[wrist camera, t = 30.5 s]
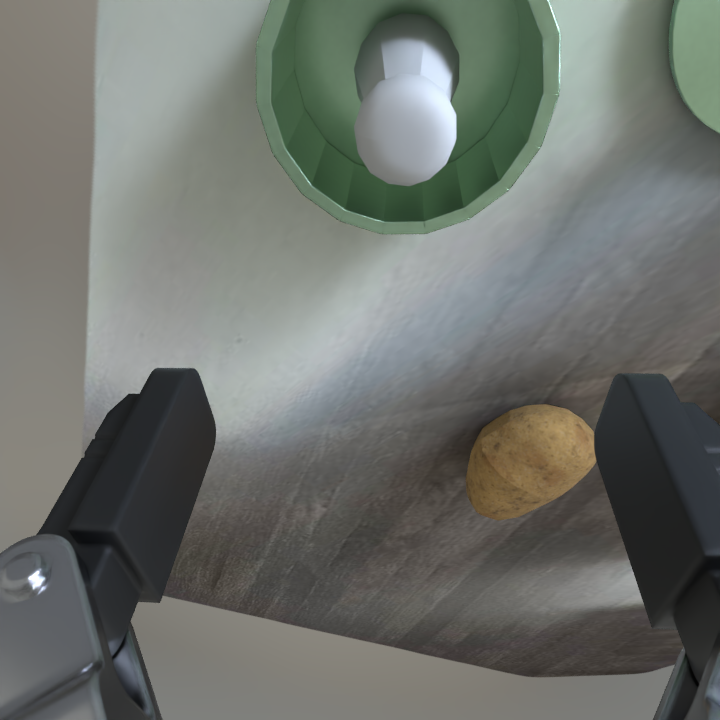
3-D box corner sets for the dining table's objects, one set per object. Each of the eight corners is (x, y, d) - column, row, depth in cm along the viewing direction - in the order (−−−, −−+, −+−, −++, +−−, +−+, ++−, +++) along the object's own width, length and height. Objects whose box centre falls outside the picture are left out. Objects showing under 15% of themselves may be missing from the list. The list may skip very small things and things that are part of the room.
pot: (234, -18, 30) (194, 2, 24) (500, -165, 25) (527, -181, 20) (341, 211, 38) (330, 266, 33) (554, 133, 34) (583, 181, 28)
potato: (434, 449, 55) (438, 518, 49) (523, 361, 46) (540, 431, 40) (512, 480, 57) (524, 549, 51) (609, 402, 49) (637, 474, 43)
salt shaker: (410, -21, 29) (410, 24, 19) (477, 62, 31) (509, 141, 21) (337, 65, 32) (305, 143, 22) (403, 136, 34) (402, 234, 24)
